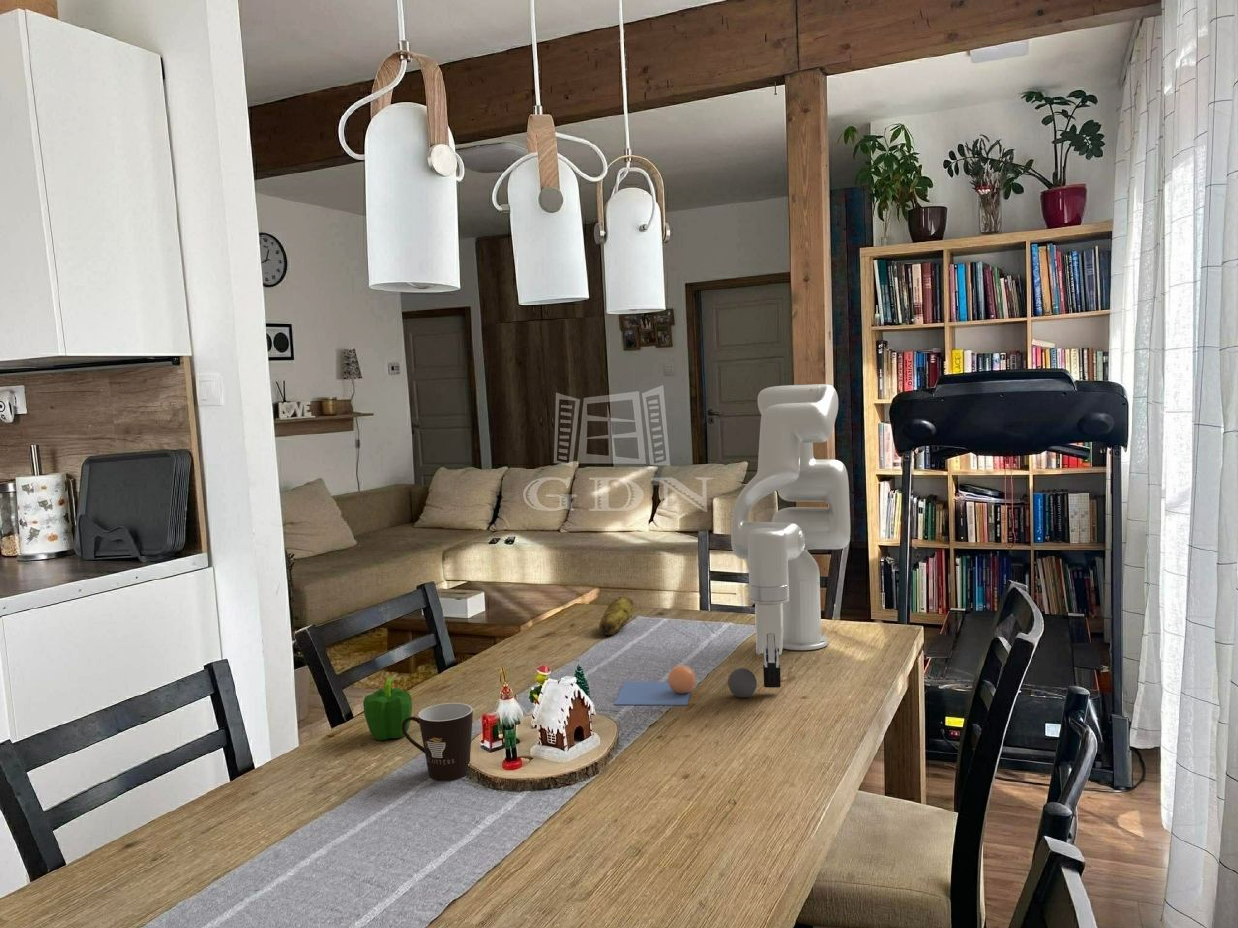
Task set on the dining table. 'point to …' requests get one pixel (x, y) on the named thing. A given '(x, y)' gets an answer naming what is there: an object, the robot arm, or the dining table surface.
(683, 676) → the object ball
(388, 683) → the bell pepper
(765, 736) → the dining table surface
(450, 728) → the coffee mug
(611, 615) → the potato
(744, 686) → the dark gray ball
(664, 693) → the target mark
